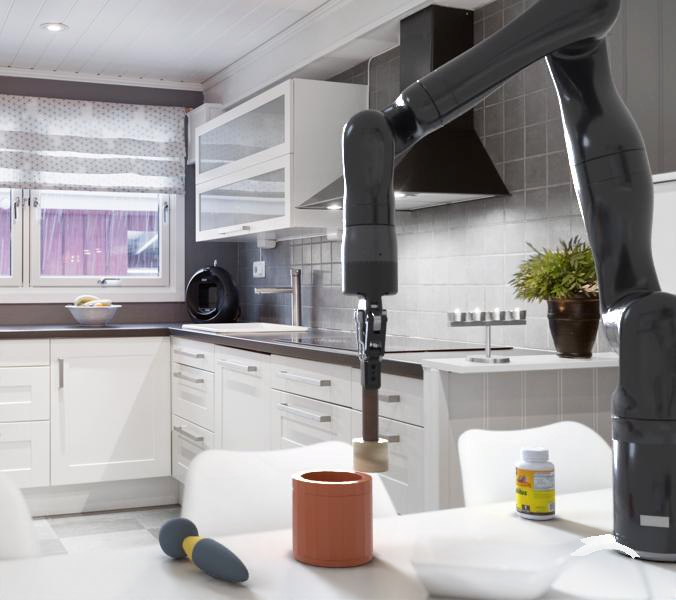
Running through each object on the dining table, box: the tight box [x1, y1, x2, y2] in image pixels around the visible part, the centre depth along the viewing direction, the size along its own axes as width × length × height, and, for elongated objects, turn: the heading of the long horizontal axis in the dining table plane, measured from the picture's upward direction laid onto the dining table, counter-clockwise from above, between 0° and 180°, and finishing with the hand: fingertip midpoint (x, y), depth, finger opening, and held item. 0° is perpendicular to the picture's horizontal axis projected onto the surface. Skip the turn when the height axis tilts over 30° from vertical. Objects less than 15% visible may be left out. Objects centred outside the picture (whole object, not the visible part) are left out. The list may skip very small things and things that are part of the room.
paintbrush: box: [158, 517, 250, 584], centre depth 100 cm, size 20×5×5 cm, turn 38°
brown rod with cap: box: [352, 351, 390, 474], centre depth 112 cm, size 5×5×16 cm
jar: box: [291, 469, 374, 568], centre depth 105 cm, size 10×10×10 cm
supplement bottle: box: [515, 446, 556, 521], centre depth 126 cm, size 6×6×10 cm
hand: (370, 387), depth 112 cm, fingers closed on brown rod with cap
